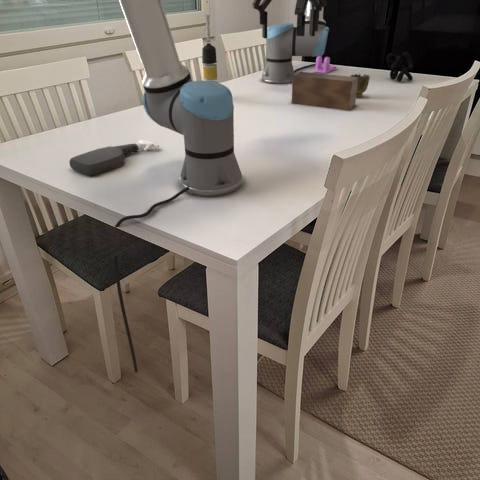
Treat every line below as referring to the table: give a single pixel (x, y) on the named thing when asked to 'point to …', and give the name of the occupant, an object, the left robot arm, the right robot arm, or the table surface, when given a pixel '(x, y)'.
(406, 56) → the squiggle
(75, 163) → the spray bottle
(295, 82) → the box
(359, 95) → the cup
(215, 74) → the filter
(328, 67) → the bracket
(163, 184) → the table surface
